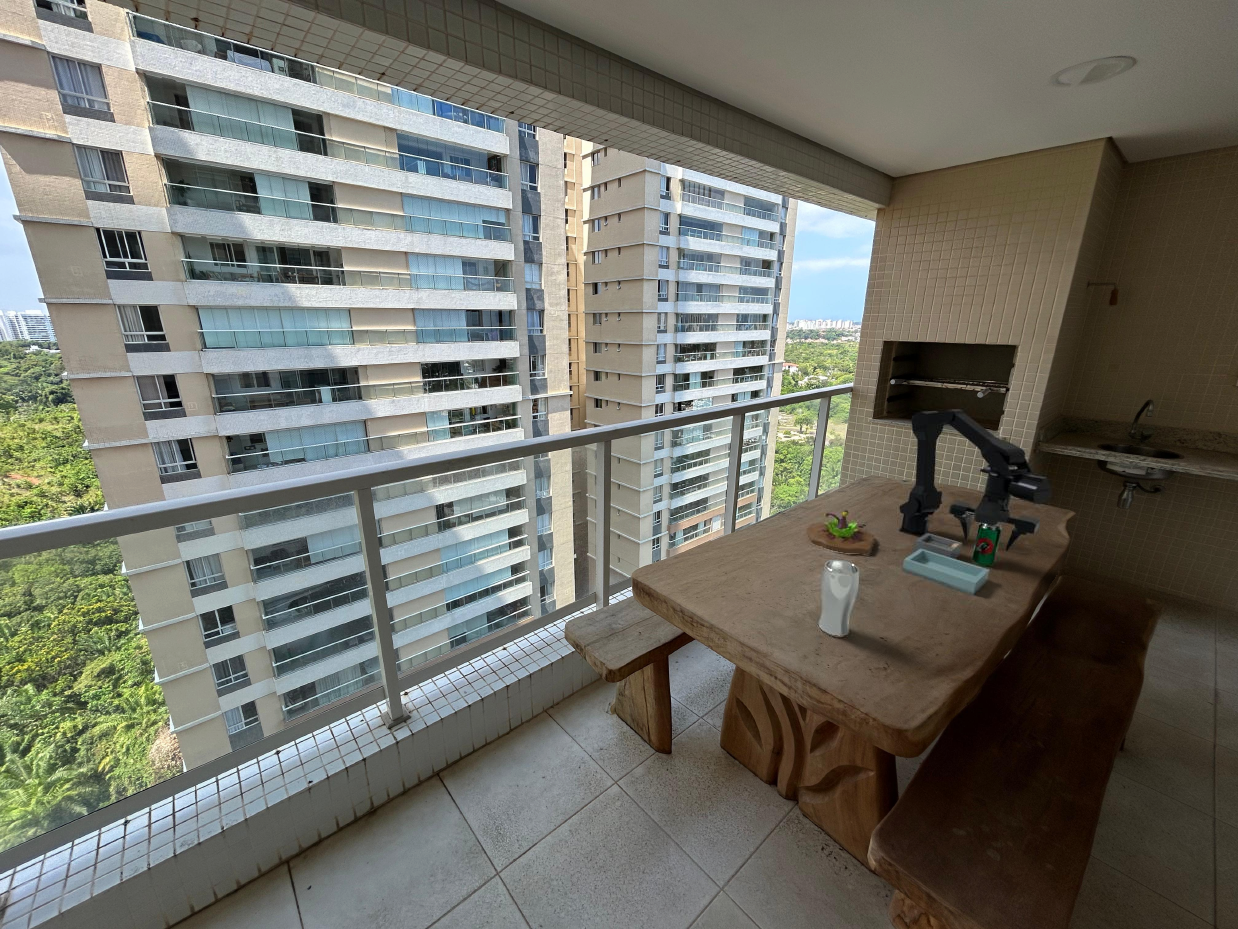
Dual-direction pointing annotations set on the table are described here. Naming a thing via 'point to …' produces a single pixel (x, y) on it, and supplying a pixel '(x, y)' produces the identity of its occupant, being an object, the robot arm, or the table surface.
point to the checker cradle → (950, 552)
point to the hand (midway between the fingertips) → (986, 544)
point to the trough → (946, 571)
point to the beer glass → (838, 596)
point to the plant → (841, 536)
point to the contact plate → (939, 544)
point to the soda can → (986, 544)
